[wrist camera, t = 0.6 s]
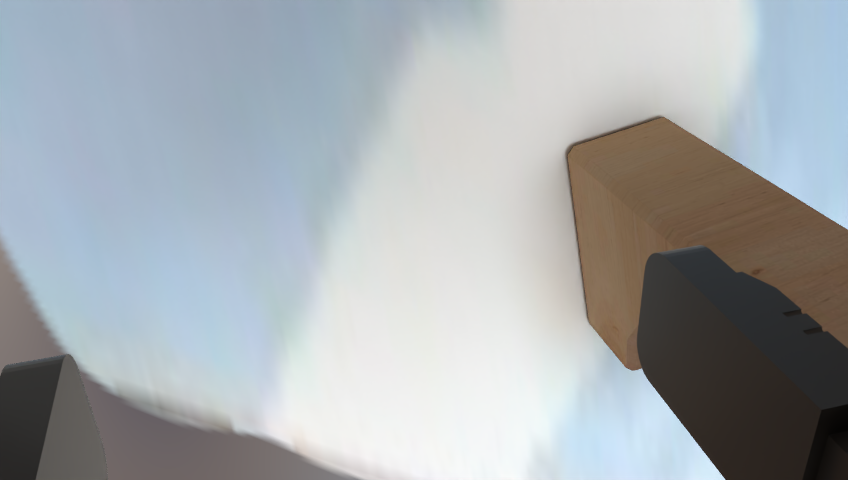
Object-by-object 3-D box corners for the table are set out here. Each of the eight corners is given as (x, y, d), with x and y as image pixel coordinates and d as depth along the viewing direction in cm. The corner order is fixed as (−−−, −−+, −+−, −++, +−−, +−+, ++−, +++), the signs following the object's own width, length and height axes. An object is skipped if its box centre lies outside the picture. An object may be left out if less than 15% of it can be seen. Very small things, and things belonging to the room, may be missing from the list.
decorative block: (676, 293, 44) (987, 589, 27) (583, 325, 44) (844, 649, 27) (670, 111, 39) (1057, 340, 22) (563, 143, 38) (878, 407, 21)
